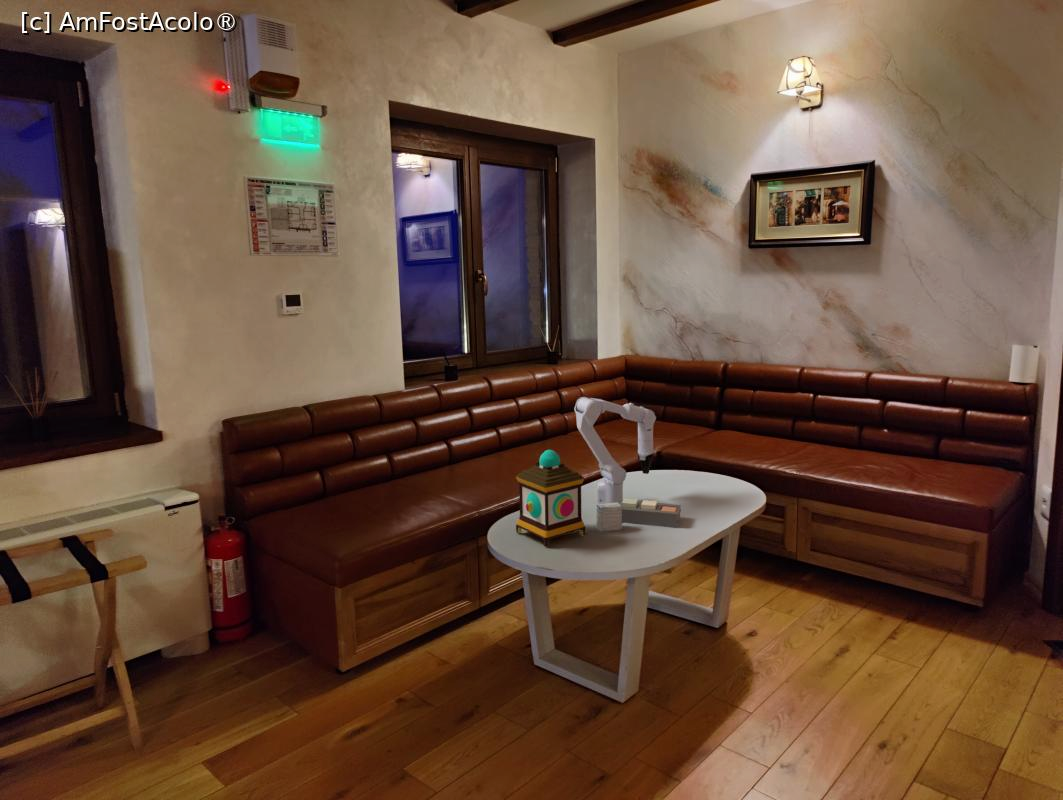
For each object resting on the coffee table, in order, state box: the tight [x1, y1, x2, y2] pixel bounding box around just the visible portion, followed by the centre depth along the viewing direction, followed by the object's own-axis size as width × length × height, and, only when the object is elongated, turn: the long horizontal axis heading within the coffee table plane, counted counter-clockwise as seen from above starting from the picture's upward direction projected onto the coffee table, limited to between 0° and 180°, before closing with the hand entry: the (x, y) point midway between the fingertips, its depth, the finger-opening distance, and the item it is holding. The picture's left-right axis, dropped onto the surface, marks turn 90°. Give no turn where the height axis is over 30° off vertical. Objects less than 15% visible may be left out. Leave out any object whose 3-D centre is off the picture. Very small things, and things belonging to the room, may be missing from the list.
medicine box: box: [596, 503, 623, 532], centre depth 255 cm, size 8×4×9 cm, turn 102°
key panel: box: [620, 500, 682, 529], centre depth 263 cm, size 21×10×5 cm, turn 72°
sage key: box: [622, 498, 639, 508], centre depth 265 cm, size 5×5×3 cm
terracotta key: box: [661, 506, 677, 512], centre depth 261 cm, size 5×5×3 cm
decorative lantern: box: [515, 449, 587, 548], centre depth 249 cm, size 20×20×30 cm
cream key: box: [641, 499, 658, 510], centre depth 263 cm, size 5×5×3 cm
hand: (645, 473), depth 285 cm, fingers closed
